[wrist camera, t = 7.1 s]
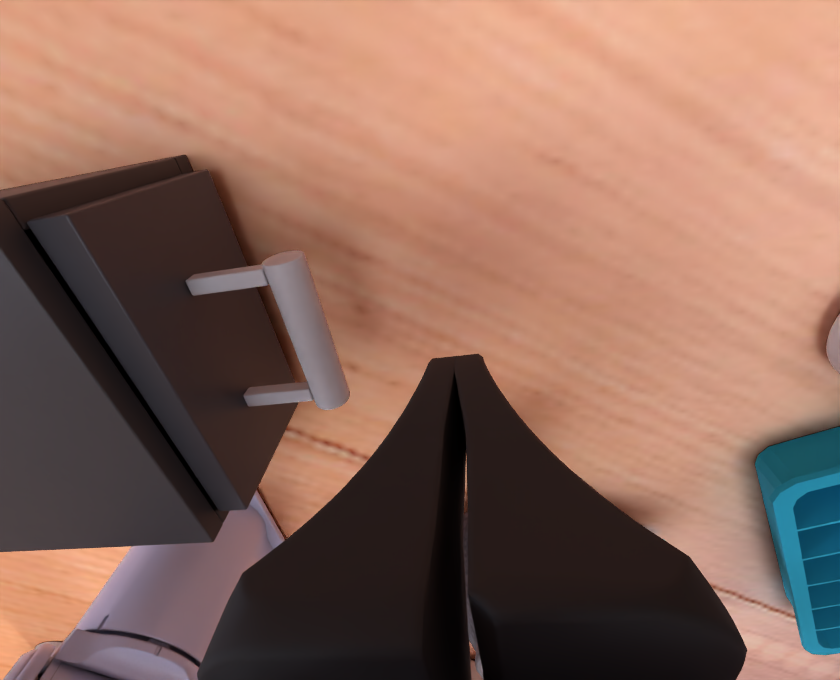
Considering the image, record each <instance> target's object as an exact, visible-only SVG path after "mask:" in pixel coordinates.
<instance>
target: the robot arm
mask: <svg viewBox="0 0 840 680" xmlns="http://www.w3.org/2000/svg"><path fill="white" fill-rule="evenodd" d="M466 455H467V494H468V598H469V603H470V608H471V613H472V618H473V623H474V629H475V634H476V639H477V644H478V649H479V654H480V659H481V664H482V669H483V680H736V678H737V676H738V675H739V673H740V671H741V669H742V667H743V664H744V661H745V657H746V653H747V648H746V646H745V644H744V642H743V639H742V637H741V635H740V633H739V631H738V629H737V627H736V625H735V623H734V621H733V620H732V618H731V616H730V615H729V613H728V611H727V610H726V608H725V606H724V605H723V603H722V602H721V600H720V599H719V597H718V596H717V595H716V593H715V592H714V590H713V589H712V587H711V586H710V584H709V583H708V581H707V580H706V579H705V577H704V576H703V575H702V573H701V572H700V570H699V569H698V568H697V566H696V565H695V564H694V562H693V561H692V560H691V558H690V557H689V556H687V555H686V554H684V553H683V552H681V551H680V550H678V549H677V548H675V547H674V546H672V545H671V544H669V543H668V542H666V541H665V540H663V539H661V538H660V537H658V536H657V535H655V534H654V533H652V532H651V531H649V530H648V529H646V528H645V527H643V526H642V525H640V524H639V523H637V522H636V521H635V520H633V519H632V518H630V517H629V516H628V515H626V514H625V513H624V512H622V511H621V510H620V509H618V508H617V507H616V506H614V505H613V504H612V503H610V502H609V501H608V500H606V499H605V498H604V497H603V496H601V495H600V494H599V493H598V492H597V491H595V490H594V489H593V488H592V487H591V486H589V485H588V484H587V483H586V482H585V481H583V480H582V479H581V478H580V477H579V476H577V475H576V474H575V473H574V472H573V471H571V470H570V469H569V468H568V467H567V466H566V465H565V464H564V463H563V462H562V461H561V460H559V459H558V458H557V457H556V456H555V455H554V454H553V453H552V452H551V451H550V450H549V449H548V448H547V447H546V446H545V445H544V444H543V443H542V442H541V441H540V440H539V439H538V437H537V436H536V435H535V434H534V433H533V432H532V431H531V430H530V429H529V427H528V426H527V425H526V424H525V423H524V421H523V420H522V419H521V418H520V417H519V415H518V414H517V413H516V412H515V410H514V409H513V408H512V406H511V405H510V404H509V402H508V401H507V399H506V398H505V397H504V395H503V394H502V392H501V391H500V389H499V388H498V386H497V385H496V383H495V382H494V380H493V378H492V376H491V375H490V373H489V371H488V369H487V367H486V365H485V362H484V359H483V357H482V356H481V355H479V354H471V355H462V356H453V357H443V358H434V359H432V360H431V361H430V362H429V363H428V366H427V368H426V370H425V373H424V375H423V377H422V379H421V381H420V383H419V385H418V387H417V389H416V391H415V392H414V394H413V396H412V398H411V399H410V401H409V403H408V405H407V406H406V408H405V410H404V411H403V413H402V415H401V416H400V418H399V419H398V421H397V422H396V424H395V425H394V427H393V428H392V430H391V431H390V432H389V434H388V435H387V437H386V438H385V439H384V441H383V442H382V444H381V445H380V446H379V447H378V449H377V450H376V451H375V453H374V454H373V455H372V456H371V457H370V459H369V460H368V461H367V462H366V463H365V465H364V466H363V467H362V468H361V469H360V470H359V471H358V472H357V474H356V475H355V476H354V477H353V478H352V479H351V480H350V481H349V482H348V483H347V485H346V486H345V487H344V488H343V489H342V490H341V491H340V492H339V493H338V494H337V495H336V496H335V497H334V498H333V499H332V500H331V501H330V502H328V503H327V504H326V505H325V506H324V507H323V508H322V509H321V510H320V511H319V512H318V513H317V514H315V515H314V516H313V517H312V518H311V519H310V520H309V521H308V522H307V523H305V524H304V525H303V526H302V527H301V528H300V529H298V530H297V531H296V532H295V533H294V534H292V535H291V536H290V537H289V538H287V539H286V540H285V539H284V537H283V535H282V534H281V532H280V530H279V528H278V527H277V525H276V523H275V521H274V520H273V518H272V516H271V514H270V512H269V511H268V509H267V507H266V505H265V504H264V502H263V500H262V498H261V497H260V495H259V493H258V491H257V490H256V492H255V494H254V496H253V498H252V500H251V502H250V504H249V506H248V508H247V509H246V510H233V511H229V513H228V515H227V517H226V519H225V521H224V522H223V525H222V527H221V529H220V531H219V533H218V535H217V537H216V539H215V541H214V542H211V543H189V544H167V545H145V546H132V547H131V548H130V549H129V551H128V552H127V554H126V555H125V557H124V558H123V559H122V561H121V562H120V564H119V565H118V567H117V568H116V569H115V571H114V572H113V574H112V575H111V577H110V578H109V579H108V581H107V582H106V584H105V585H104V587H103V588H102V590H101V591H100V592H99V594H98V595H97V597H96V598H95V600H94V601H93V602H92V604H91V605H90V607H89V608H88V610H87V611H86V612H85V614H84V615H83V617H82V618H81V620H80V621H79V622H78V624H77V625H76V627H75V628H74V630H73V631H72V632H71V633H70V634H69V635H68V637H67V638H66V639H65V640H64V641H63V642H62V644H61V645H60V646H59V647H58V648H57V649H56V651H55V652H54V653H53V651H54V649H55V648H56V646H54V645H51V644H48V643H44V644H42V645H41V646H40V647H39V648H38V649H34V650H31V651H29V652H27V653H25V654H23V655H22V656H21V657H20V658H19V659H18V661H17V662H16V663H15V665H14V666H13V667H12V669H11V670H10V671H9V672H8V674H7V675H6V676H5V678H4V679H3V680H472V679H471V664H470V649H469V633H468V616H467V600H466V583H465V565H464V547H463V522H464V495H465V467H466ZM52 653H53V654H52ZM51 654H52V656H51Z"/></svg>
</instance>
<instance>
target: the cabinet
mask: <svg viewBox="0 0 840 680" xmlns="http://www.w3.org/2000/svg"><path fill="white" fill-rule="evenodd" d="M190 172H193V170H192V168H191V166H190V163H189V161H188V159H187V156H186V155H181V156H176V157H171V158H165V159H160V160H155V161H150V162H144V163H139V164H134V165H129V166H123V167H118V168H113V169H108V170H103V171H97V172H92V173H87V174H82V175H76V176H71V177H66V178H61V179H55V180H50V181H45V182H40V183H35V184H29V185H24V186H19V187H14V188H8V189H3V190H0V552H12V551H34V550H56V549H78V548H101V547H123V546H145V545H167V544H189V543H211V542H214V541H215V539H216V537H217V535H218V533H219V531H220V529H221V527H222V525H223V522H224V521H225V519H226V517H227V515H228V513H229V511H219V510H218V508H217V507H216V505H215V504H214V502H213V501H212V500H211V498H210V497H209V495H208V494H207V492H206V491H205V489H204V488H203V486H202V485H201V483H200V482H199V480H198V479H197V477H196V478H195V479H194V480H193V479H192V477H191V476H190V474H189V473H188V472H187V470H186V469H185V467H184V466H183V464H182V463H181V461H180V460H179V458H178V457H177V455H176V454H175V452H174V451H173V449H172V448H171V446H170V445H169V444H168V442H167V441H166V439H165V438H164V436H163V435H162V433H161V432H160V430H159V429H158V427H157V426H156V424H155V423H154V421H153V420H152V418H151V417H150V416H149V414H148V413H147V411H146V410H145V408H144V407H143V405H142V404H141V402H140V401H139V399H138V398H137V396H136V395H135V393H134V392H133V391H132V389H131V388H130V386H129V385H128V383H127V382H126V380H125V379H124V377H123V376H122V374H121V373H120V371H119V370H118V368H117V367H116V365H115V364H114V363H113V361H112V360H111V358H110V357H109V355H108V354H107V352H106V351H105V349H104V348H103V346H102V345H101V343H100V342H99V340H98V339H97V337H96V336H95V335H94V333H93V332H92V330H91V329H90V327H89V326H88V324H87V323H86V321H85V320H84V318H83V317H82V315H81V314H80V312H79V311H78V310H77V308H76V307H75V305H74V304H73V302H72V301H71V299H70V298H69V296H68V295H67V293H66V292H65V290H64V289H63V287H62V286H61V284H60V283H59V282H58V280H57V279H56V277H55V276H54V274H53V273H52V271H51V270H50V268H49V267H48V265H47V264H46V262H45V261H44V259H43V258H42V256H41V255H40V254H39V252H38V251H37V249H36V248H35V246H34V245H33V243H32V242H31V240H30V239H29V237H28V236H27V234H26V233H25V231H24V230H28V229H30V228H29V226H28V225H27V221H28V220H31V219H34V218H38V217H41V216H44V215H48V214H51V213H54V212H58V211H61V210H64V209H68V208H71V207H74V206H77V205H81V204H84V203H87V202H91V201H94V200H97V199H101V198H104V197H107V196H110V195H114V194H117V193H120V192H124V191H127V190H130V189H134V188H137V187H140V186H144V185H147V184H150V183H153V182H157V181H160V180H163V179H167V178H170V177H173V176H177V175H180V174H184V173H190Z"/></svg>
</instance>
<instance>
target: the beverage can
mask: <svg viewBox="0 0 840 680" xmlns="http://www.w3.org/2000/svg"><path fill="white" fill-rule="evenodd" d="M826 351H827V357H828V360H829V362H830V364H831V365H832V367H833V368H834V369H835V370H836V371H837V372H838V373H839V374H840V313H839V315H838V317H837V318H836V320H835V322H834V324H833V325H832V327H831V329H830V332H829V335H828V339H827V345H826Z"/></svg>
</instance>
